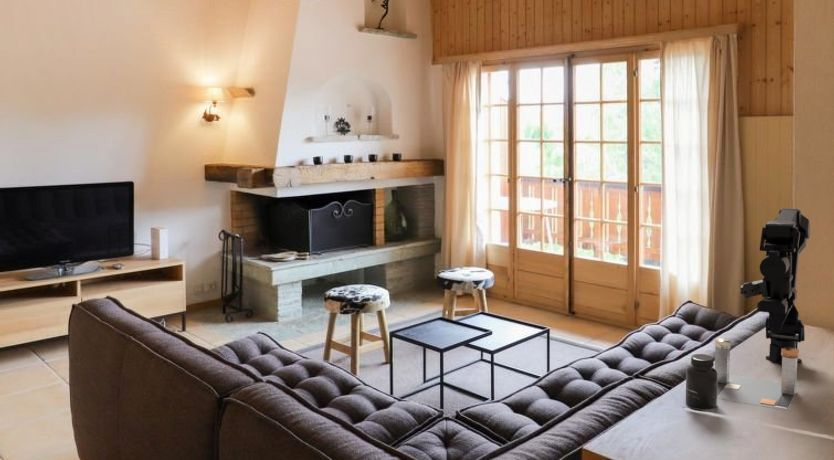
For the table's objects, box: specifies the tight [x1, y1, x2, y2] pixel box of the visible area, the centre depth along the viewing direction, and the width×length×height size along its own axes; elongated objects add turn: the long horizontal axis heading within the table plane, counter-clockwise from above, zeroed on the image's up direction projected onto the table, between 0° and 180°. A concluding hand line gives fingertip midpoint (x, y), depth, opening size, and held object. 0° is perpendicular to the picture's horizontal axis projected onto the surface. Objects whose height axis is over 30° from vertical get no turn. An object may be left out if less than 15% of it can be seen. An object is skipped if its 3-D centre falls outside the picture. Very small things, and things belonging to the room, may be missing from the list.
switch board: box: [717, 373, 801, 412], centre depth 171 cm, size 18×18×1 cm
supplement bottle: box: [685, 353, 718, 412], centre depth 164 cm, size 7×7×12 cm
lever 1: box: [714, 337, 732, 384], centre depth 176 cm, size 4×4×11 cm
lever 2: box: [780, 347, 800, 396], centre depth 167 cm, size 4×4×11 cm
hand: (776, 332), depth 178 cm, fingers closed
